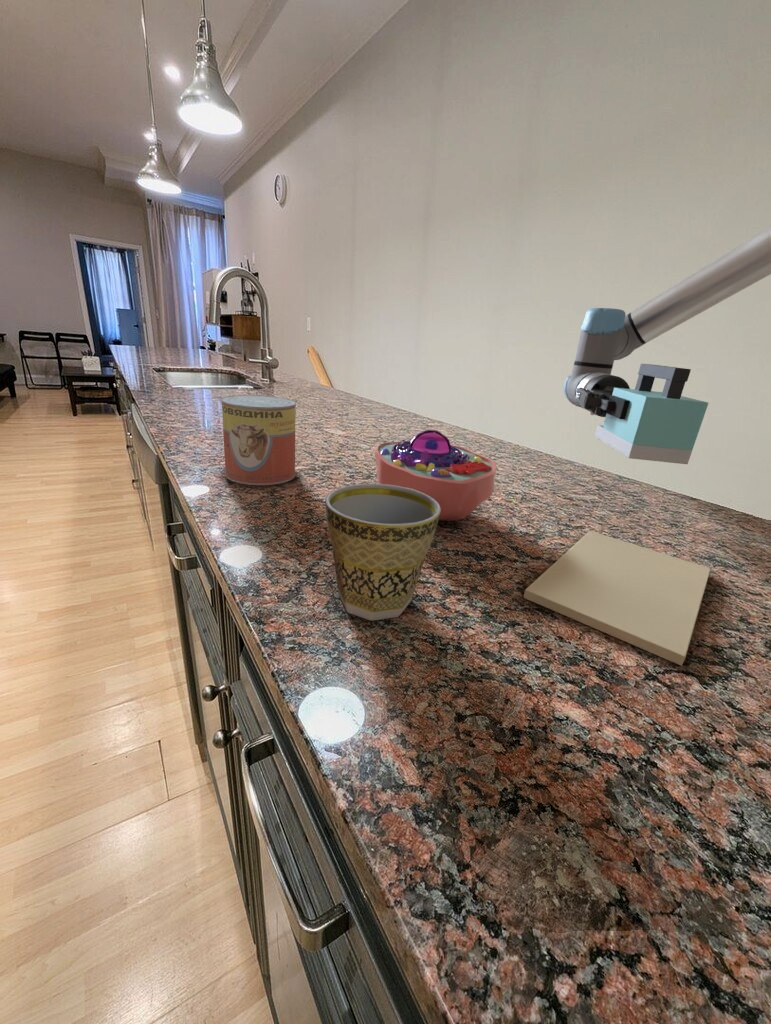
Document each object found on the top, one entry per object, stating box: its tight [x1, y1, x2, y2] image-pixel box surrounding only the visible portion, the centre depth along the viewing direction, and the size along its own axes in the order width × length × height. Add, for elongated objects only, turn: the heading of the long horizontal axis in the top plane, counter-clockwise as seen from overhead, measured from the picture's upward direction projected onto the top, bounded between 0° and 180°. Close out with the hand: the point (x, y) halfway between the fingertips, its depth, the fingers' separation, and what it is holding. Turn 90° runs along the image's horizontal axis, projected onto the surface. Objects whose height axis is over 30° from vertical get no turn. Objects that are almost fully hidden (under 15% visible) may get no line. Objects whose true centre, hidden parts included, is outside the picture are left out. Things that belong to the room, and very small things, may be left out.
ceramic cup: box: [324, 483, 441, 622], centre depth 42 cm, size 13×10×10 cm
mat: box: [523, 530, 711, 666], centre depth 49 cm, size 22×14×1 cm, turn 141°
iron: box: [594, 363, 709, 465], centre depth 68 cm, size 16×8×12 cm, turn 174°
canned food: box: [220, 394, 297, 486], centre depth 72 cm, size 11×11×12 cm
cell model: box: [373, 429, 497, 522], centre depth 62 cm, size 17×20×11 cm
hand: (655, 412), depth 65 cm, fingers closed on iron, 8 cm apart
